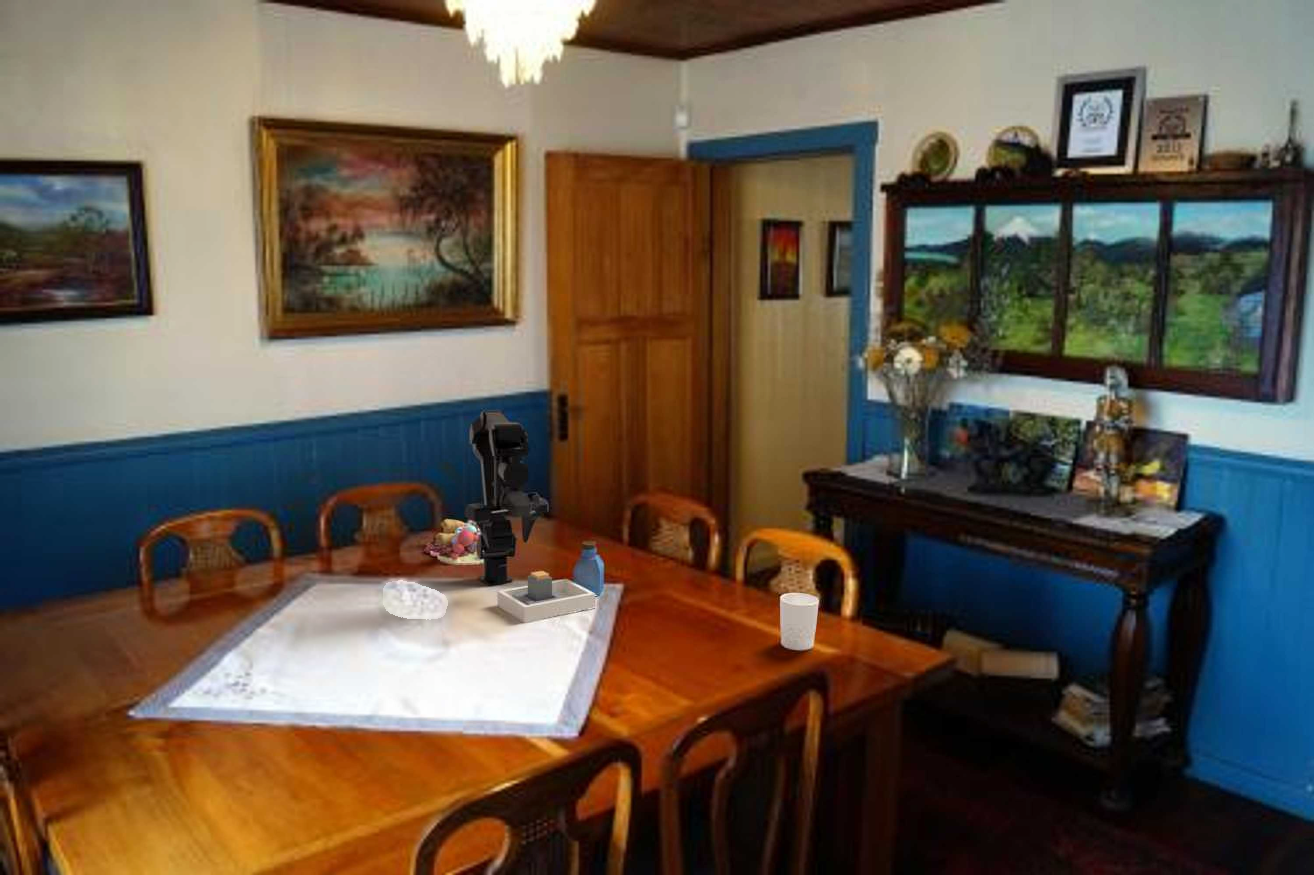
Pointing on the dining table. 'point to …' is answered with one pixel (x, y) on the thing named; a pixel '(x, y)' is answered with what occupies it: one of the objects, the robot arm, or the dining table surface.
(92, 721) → the dining table surface
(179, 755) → the dining table surface
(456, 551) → the food platter
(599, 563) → the perfume bottle
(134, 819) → the dining table surface
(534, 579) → the plug
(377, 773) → the dining table surface
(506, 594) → the box
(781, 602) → the white cup
